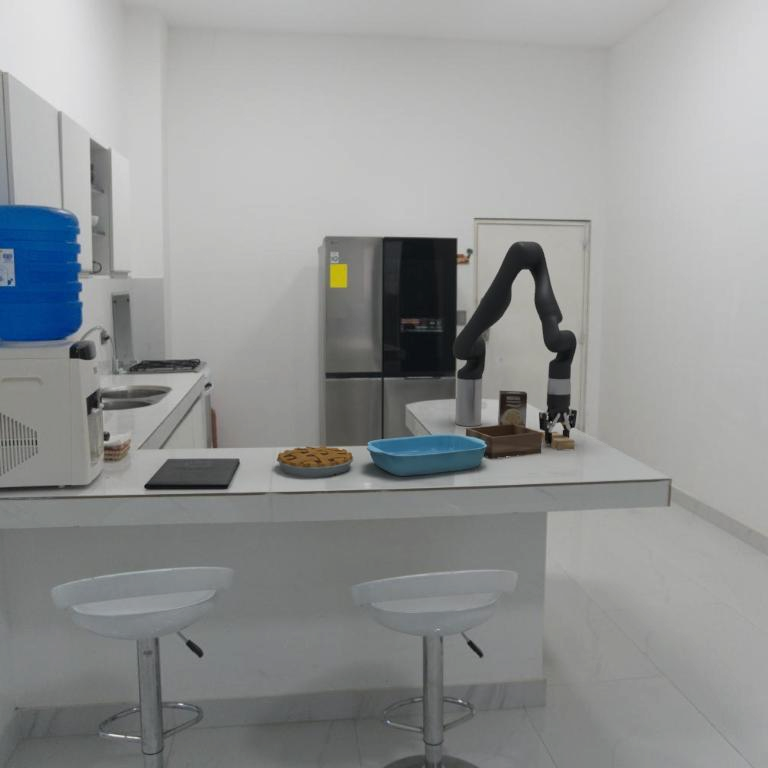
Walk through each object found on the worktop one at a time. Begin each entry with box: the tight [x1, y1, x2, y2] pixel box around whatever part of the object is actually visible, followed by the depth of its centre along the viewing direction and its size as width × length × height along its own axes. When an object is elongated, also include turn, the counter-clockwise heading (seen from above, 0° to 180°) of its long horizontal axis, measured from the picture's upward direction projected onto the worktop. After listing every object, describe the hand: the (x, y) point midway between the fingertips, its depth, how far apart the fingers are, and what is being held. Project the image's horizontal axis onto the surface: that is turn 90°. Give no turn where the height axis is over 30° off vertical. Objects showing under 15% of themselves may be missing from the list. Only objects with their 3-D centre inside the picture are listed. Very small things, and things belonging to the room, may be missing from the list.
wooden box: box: [465, 424, 543, 459], centre depth 235 cm, size 15×18×6 cm
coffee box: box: [497, 390, 528, 428], centre depth 251 cm, size 9×6×16 cm
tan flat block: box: [541, 431, 575, 451], centre depth 243 cm, size 14×6×3 cm, turn 11°
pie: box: [276, 445, 354, 478], centre depth 213 cm, size 22×22×5 cm
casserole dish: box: [366, 433, 487, 477], centre depth 216 cm, size 37×22×7 cm, turn 116°
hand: (557, 442), depth 243 cm, fingers closed on tan flat block, 6 cm apart
